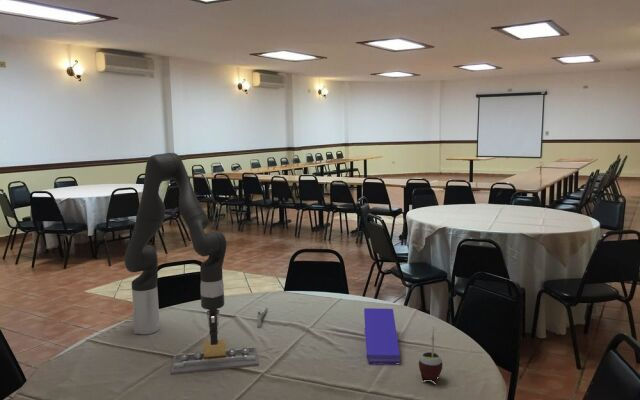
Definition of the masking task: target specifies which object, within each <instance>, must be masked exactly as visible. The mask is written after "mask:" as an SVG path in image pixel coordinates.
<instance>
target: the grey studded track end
mask: <svg viewBox="0 0 640 400" xmlns="http://www.w3.org/2000/svg"><path fill="white" fill-rule="evenodd" d="M254 348H255V347H254V346H246V347H243V348H229V349H226V355H228V357H222V358H215V364H216V363H226V362H236V361H246V362H247V361H255V355H253V356H249V352H254ZM236 354H242V356H236Z"/></svg>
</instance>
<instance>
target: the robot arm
mask: <svg viewBox="0 0 640 400" xmlns="http://www.w3.org/2000/svg"><path fill="white" fill-rule="evenodd" d="M143 179H144V180H143V187H142V193H141V198H140V202H139V205H138V209H137V213H136V217H135V222H134V227H133V231H132V235H131V236H130V240H129V243H128V245H127V248H126V251H125V254H124V265H125V268H126V269H127V271H129V272H131V273H137V272H138V273H139V272H142V273H140V274H139V276H137V277H136V278H134V279H133V280H132V281H131V295H132V311H131V312H132V324H133V334H134V335H135V334H136V335H150V334H154V333H157V332H159V330H160V328H161V323H160V322H161V321H160V311H159V309H160V307H159V294H158V293H159V291H158V277H159V276H158V275H159V273H158V272H159V271H158V268H159V266H158V264H159V263H158V254H157V250H156V248H155V246H153V245H151V244H148V242H149V241H150V240H151V239H153V237H154V236H156V234H158V232H159V231H160V230H161V228H162V225H163V222H164V220H165V214H166V206H165V204H164V201H163V199H162V198H161V196H160V194H159V192H160V187H161V184H162V183H163V182H169V181H174V182H175V183H176V186H177V188H178V190H179V197H178V200H179V201H178V207H179V213H180V215H181V217H182V219H183V221H184V223H185V225H186V226H187V229H188V231H189V235H190V239H191V243H192V246H193V249H194V251H195V252H196V253H197V255H199V256H201V257H207V256H208V257H207V259H206V260H204V261H203V262H201V264H200V269H199V271H200V287H199V289H200V305H201V308H202V309H204V310H207V312H206V318H207V326H208V328H209V331H208V333H209V335H210V341H211V345H217V344H218V339H219V338H218V334H219V330H218V327H219V326H220V321H219V320H220V308H223V307H224V305H225V289H224V288H225V285H224V279H223V278H224V277H223V264H224V260H225V256H226V251H227V239H226V236H225V235H224V234H223V233H222V232H221V231H218V230H217V231H216V230H215V231H211V232H207V233H205V231H204V230H205V229H206V228H207V227H209V225H210V220H209V218H208V216H207V215H208V214H206V212H205V210H204V209H203V207H202V205H201V203H200V201H199V199H198V197H197V195H196V193H195V191H194V188H193V185H192V182H191V180H190V177H189V175H188V172H187V170H186V167H185V164H184V162H183V160H182V158H181V157H180V155H179V154H178V153H175V152H166V153H158V154H153V155H151V156H149V157H148V159H147V161H146V165H145V171H144V178H143Z"/></svg>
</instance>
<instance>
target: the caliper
mask: <svg viewBox="0 0 640 400" xmlns="http://www.w3.org/2000/svg"><path fill="white" fill-rule="evenodd" d="M268 309H269V308H268V307H264V308H263V309H262V311H261V310H260V311H259V310H258V311H257V328H261V327H262V320H263V318H264V316H265V314H266V313H267V312H268Z"/></svg>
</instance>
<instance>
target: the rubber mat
mask: <svg viewBox="0 0 640 400" xmlns="http://www.w3.org/2000/svg"><path fill="white" fill-rule="evenodd" d="M253 355H255V361H247V362H246V361H236V362H226V363H216V364H207V365H197V366H187V367H184V368H178V369H174V363H181V359H176V355H173V357H172V363H171V368H170V376H172V375H180V374H190V373H200V372H209V371H218V370H230V369H236V368H237V369H238V368H248V367H256V366H257V367H258V366H259V365H260V362H259V356H258V351H257V347H254V352H249V356H253ZM236 356H242V354H236ZM226 357H228V355H226ZM202 359H204V358H202ZM192 360H195V358H194V359H188V361H192Z"/></svg>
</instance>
